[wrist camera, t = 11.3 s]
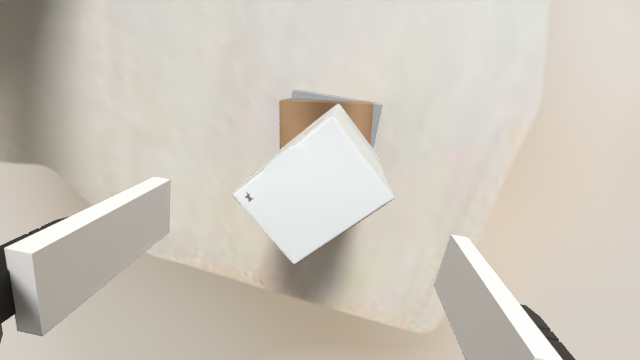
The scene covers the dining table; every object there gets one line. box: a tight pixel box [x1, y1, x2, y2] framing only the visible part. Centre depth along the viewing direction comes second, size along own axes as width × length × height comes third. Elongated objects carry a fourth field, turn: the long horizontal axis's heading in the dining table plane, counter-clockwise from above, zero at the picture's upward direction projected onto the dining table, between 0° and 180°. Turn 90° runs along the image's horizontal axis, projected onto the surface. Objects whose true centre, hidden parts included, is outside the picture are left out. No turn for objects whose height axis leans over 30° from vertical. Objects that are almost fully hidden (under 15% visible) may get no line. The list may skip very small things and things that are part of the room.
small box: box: [232, 104, 394, 265], centre depth 25 cm, size 8×6×13 cm
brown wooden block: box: [280, 99, 374, 149], centre depth 33 cm, size 9×9×5 cm
